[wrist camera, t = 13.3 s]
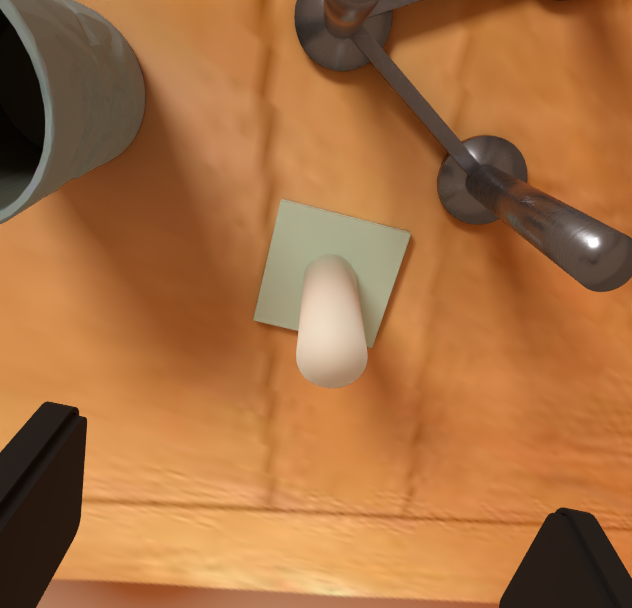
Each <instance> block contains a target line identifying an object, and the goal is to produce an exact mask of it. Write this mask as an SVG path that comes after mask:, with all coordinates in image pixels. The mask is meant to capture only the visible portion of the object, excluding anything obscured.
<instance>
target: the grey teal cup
mask: <svg viewBox="0 0 632 608" xmlns="http://www.w3.org/2000/svg"><path fill="white" fill-rule="evenodd" d="M144 110H145V86H144V81H143V76H142V72H141V70H140V67H139V64H138V61H137V59H136V57H135V54H134V52H133V51H132V49H131V47H130V46H129V44H128V42H127V41H126V40H125V38H124V37H123V36H122V34H121V33H120V32H119V31H118V30H117V29H116V28H115V27H114V26H113V25H112V24H111V23H110V22H109V21H108V20H107V19H105V18H104V17H103V16H101V15H100V14H99V13H97V12H96V11H94V10H92V9H90V8H88V7H86V6H84V5H82V4H80V3H78V2H76V1H74V0H0V224H2V223H4V222H6V221H8V220H9V219H11V218H13V217H14V216H16V215H17V214H19V213H21V212H22V211H24V210H25V209H27V208H28V207H30V206H32V205H33V204H35V203H36V202H38V201H39V200H41V199H42V198H44V197H45V196H47V195H49V194H51V193H53V192H55V191H57V190H58V189H59V188H60V187H61V186H62V185H64V184H65V183H66V182H68V181H70V180H71V179H77V178H80V177H81V176H82V175H84V174H86V173H88V172H89V171H91V170H93V169H94V168H96V167H98V166H101V165H103V164H105V163H107V162H108V161H110V160H112V159H114V158H115V157H117V156H118V155H120V154H121V153H122V152H123V151H124V150H125V149H126V148H127V147H128V146H129V145H130V143H131V142H132V141H133V140H134V138H135V136H136V134H137V132H138V130H139V128H140V125H141V123H142V119H143V115H144Z"/></svg>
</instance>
